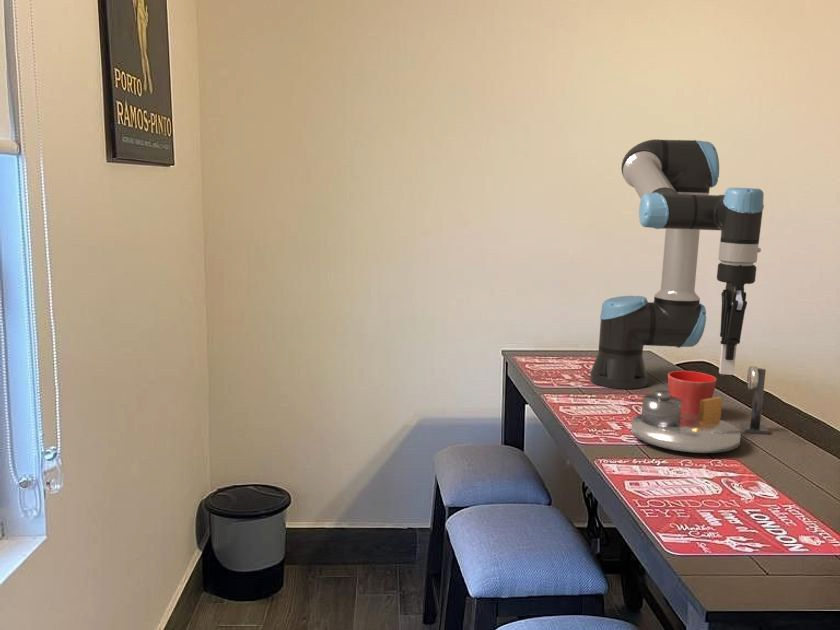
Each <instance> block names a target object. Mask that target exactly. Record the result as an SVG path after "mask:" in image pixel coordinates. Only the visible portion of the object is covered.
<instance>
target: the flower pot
mask: <svg viewBox="0 0 840 630" xmlns="http://www.w3.org/2000/svg"><path fill="white" fill-rule="evenodd" d="M717 381H718V378H717V377H715V376H714V375H710V374H709V373H703V372H699V371H692V370H674V371H670V372H668V373H667V383H668V392H670V396H673V397H676V398H679V399H681V401H682V404H681V413H690V414H697V415H699V408H700V400H703V399H708V398H713V396H714V393H715V389H716V386H717Z"/></svg>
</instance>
